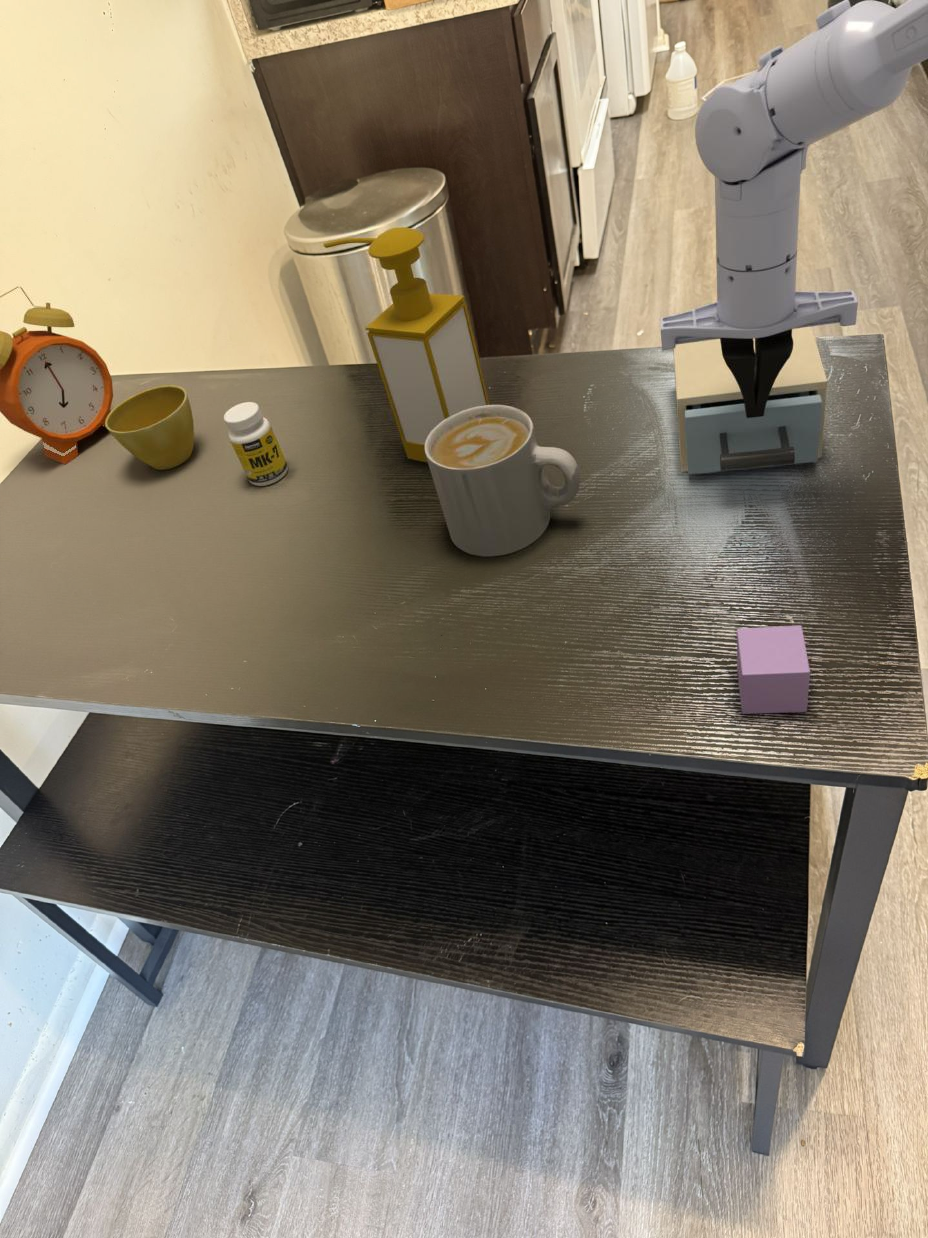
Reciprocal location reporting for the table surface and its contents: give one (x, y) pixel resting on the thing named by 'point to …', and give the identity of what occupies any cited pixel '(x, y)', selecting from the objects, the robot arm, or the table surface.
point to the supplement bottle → (255, 444)
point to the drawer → (753, 433)
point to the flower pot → (155, 426)
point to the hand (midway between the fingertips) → (754, 410)
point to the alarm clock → (53, 383)
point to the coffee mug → (495, 479)
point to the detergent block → (772, 669)
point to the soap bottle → (421, 345)
